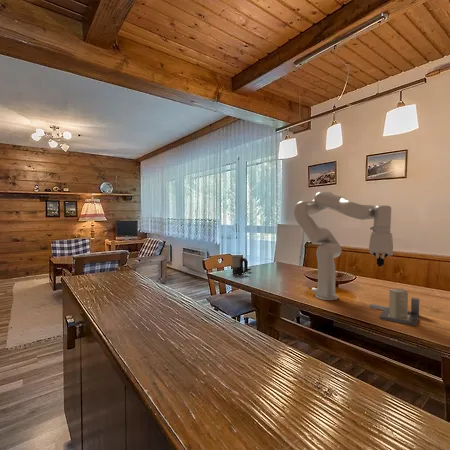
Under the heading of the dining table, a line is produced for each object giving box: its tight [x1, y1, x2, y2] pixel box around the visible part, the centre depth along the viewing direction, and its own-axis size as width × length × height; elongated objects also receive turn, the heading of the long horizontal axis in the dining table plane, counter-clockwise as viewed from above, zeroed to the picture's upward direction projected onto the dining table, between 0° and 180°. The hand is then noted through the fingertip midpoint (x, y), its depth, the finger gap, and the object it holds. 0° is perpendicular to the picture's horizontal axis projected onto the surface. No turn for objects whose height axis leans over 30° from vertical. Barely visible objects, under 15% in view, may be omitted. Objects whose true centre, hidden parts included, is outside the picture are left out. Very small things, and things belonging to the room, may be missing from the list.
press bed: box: [379, 310, 419, 327], centre depth 131 cm, size 14×10×1 cm
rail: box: [369, 297, 420, 318], centre depth 140 cm, size 21×3×8 cm, turn 51°
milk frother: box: [231, 254, 252, 275], centre depth 232 cm, size 14×16×15 cm
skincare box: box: [388, 288, 409, 317], centre depth 131 cm, size 6×4×12 cm
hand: (380, 265), depth 143 cm, fingers closed
